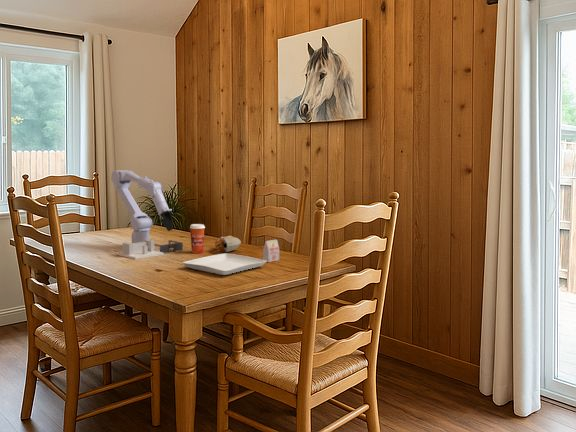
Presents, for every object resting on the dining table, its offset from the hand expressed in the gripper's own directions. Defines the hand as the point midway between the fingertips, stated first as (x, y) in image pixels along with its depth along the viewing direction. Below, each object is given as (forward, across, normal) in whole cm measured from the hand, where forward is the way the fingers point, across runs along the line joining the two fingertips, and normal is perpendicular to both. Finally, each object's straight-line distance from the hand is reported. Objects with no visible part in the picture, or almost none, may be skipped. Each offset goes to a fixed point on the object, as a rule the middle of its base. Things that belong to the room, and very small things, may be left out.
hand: (170, 228), depth 292 cm
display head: (+7, +2, +18) cm, 20 cm away
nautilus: (+20, +2, -20) cm, 29 cm away
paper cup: (+16, +2, -8) cm, 18 cm away
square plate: (+34, -33, -10) cm, 49 cm away
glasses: (+8, +10, +5) cm, 14 cm away
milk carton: (+38, -24, -34) cm, 56 cm away
